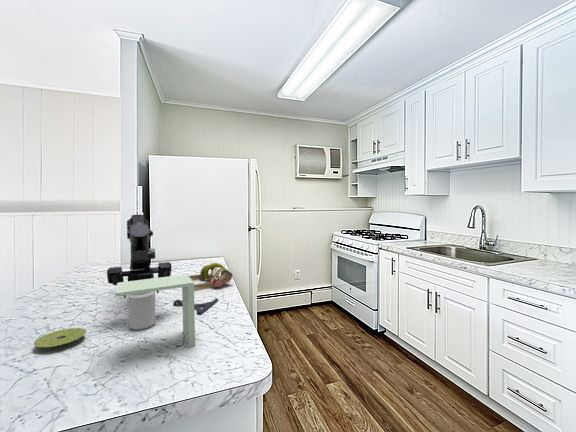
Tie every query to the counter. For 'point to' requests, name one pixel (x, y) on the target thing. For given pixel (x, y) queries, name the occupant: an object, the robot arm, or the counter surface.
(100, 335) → the counter surface
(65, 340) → the olive green disc
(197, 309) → the bracket
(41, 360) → the counter surface
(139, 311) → the can
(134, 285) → the shelf
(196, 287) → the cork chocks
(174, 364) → the counter surface
